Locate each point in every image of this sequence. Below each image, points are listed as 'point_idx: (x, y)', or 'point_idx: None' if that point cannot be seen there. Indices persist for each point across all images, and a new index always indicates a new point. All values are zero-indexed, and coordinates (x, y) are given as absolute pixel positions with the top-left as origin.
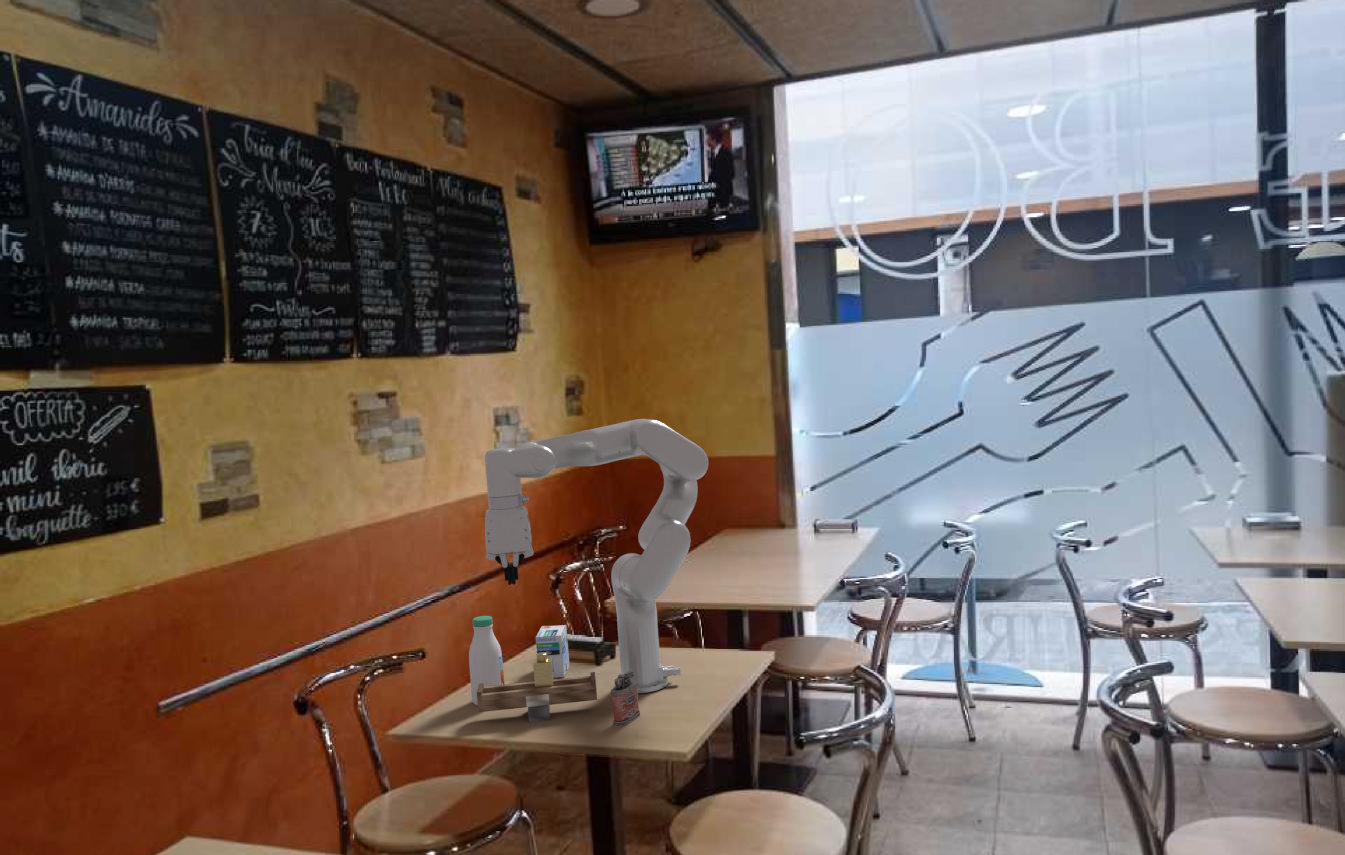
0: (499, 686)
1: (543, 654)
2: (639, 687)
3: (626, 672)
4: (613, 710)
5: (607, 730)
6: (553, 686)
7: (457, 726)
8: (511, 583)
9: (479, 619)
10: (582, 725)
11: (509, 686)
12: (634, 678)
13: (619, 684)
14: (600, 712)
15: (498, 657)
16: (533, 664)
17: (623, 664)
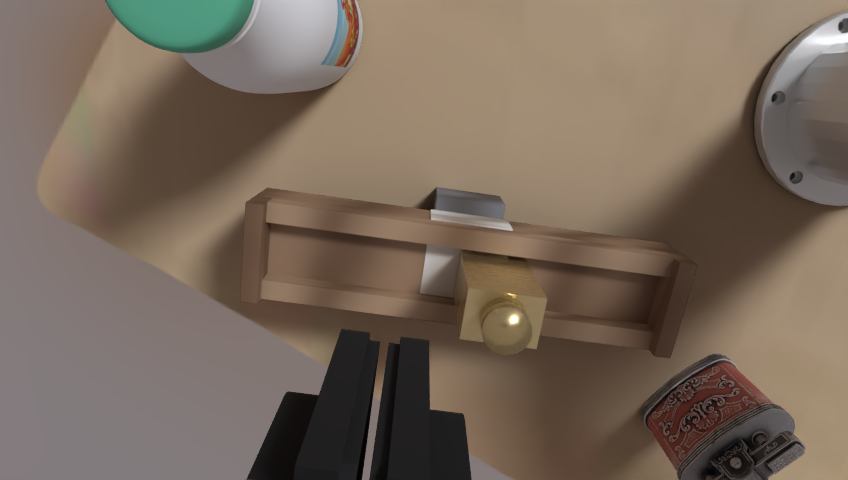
0: (327, 227)
1: (513, 344)
2: (822, 184)
3: (826, 156)
4: (659, 441)
5: (614, 440)
6: None
7: (205, 235)
8: (364, 456)
9: (148, 17)
10: (561, 381)
11: (364, 234)
12: (832, 178)
13: None
14: None
15: (320, 64)
16: (460, 338)
17: (842, 146)
